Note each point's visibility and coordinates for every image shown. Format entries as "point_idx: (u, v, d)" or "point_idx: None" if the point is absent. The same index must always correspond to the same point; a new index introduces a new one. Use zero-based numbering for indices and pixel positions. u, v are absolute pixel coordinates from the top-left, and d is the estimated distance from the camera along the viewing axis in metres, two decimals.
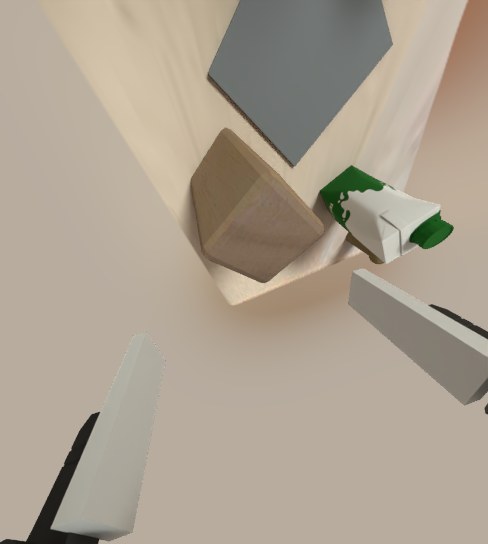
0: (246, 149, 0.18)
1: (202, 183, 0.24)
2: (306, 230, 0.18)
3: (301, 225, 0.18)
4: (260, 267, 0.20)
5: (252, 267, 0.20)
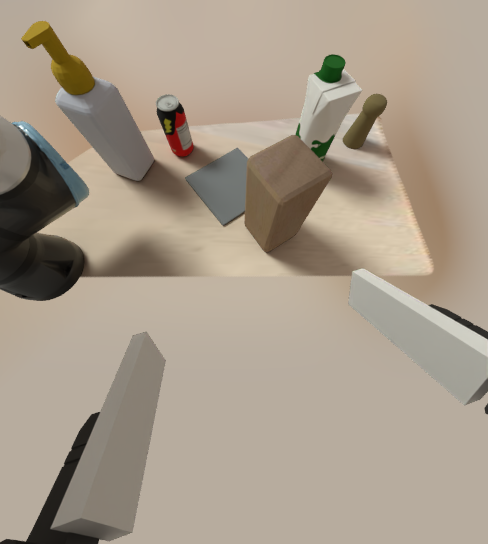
0: None
1: (261, 230, 0.38)
2: (287, 143, 0.28)
3: (282, 146, 0.28)
4: (309, 171, 0.27)
5: (306, 176, 0.27)
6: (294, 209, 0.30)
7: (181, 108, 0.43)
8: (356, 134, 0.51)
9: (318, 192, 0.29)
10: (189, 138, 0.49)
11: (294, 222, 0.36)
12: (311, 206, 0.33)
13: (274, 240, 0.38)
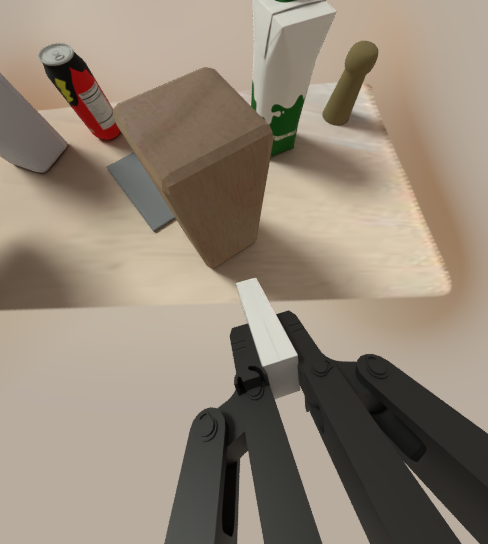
0: None
1: (189, 238, 0.25)
2: (190, 79, 0.15)
3: (180, 84, 0.15)
4: (225, 127, 0.14)
5: (219, 136, 0.13)
6: (212, 203, 0.16)
7: (80, 63, 0.29)
8: (339, 103, 0.38)
9: (253, 170, 0.16)
10: (109, 112, 0.35)
11: (235, 225, 0.22)
12: (256, 198, 0.20)
13: (211, 253, 0.25)
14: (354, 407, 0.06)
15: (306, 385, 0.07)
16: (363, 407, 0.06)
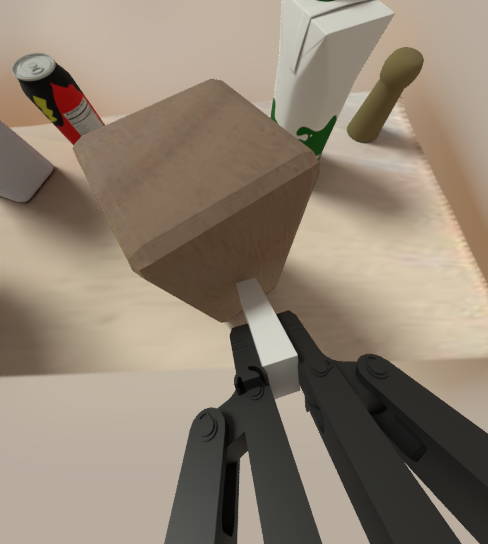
0: None
1: None
2: (187, 95, 0.10)
3: (172, 102, 0.10)
4: (240, 159, 0.08)
5: (230, 175, 0.08)
6: (221, 271, 0.10)
7: (64, 77, 0.24)
8: (369, 119, 0.32)
9: (284, 219, 0.10)
10: None
11: None
12: (283, 249, 0.14)
13: (221, 314, 0.19)
14: (354, 407, 0.06)
15: (306, 385, 0.07)
16: (363, 407, 0.06)
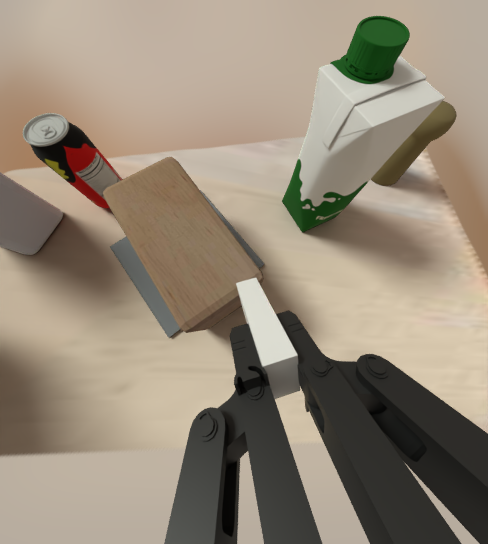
0: None
1: None
2: None
3: None
4: None
5: None
6: (135, 198, 0.21)
7: (78, 138, 0.23)
8: (393, 165, 0.31)
9: (165, 173, 0.22)
10: (113, 182, 0.29)
11: (178, 226, 0.20)
12: (188, 195, 0.21)
13: (159, 272, 0.18)
14: (354, 407, 0.06)
15: (306, 385, 0.07)
16: (363, 407, 0.06)
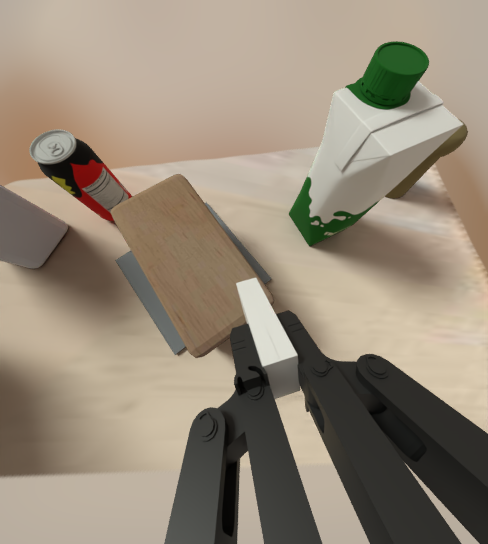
0: None
1: None
2: None
3: None
4: None
5: None
6: (143, 217, 0.20)
7: (85, 154, 0.23)
8: None
9: (173, 191, 0.21)
10: (119, 196, 0.29)
11: (187, 247, 0.20)
12: (197, 214, 0.21)
13: (168, 295, 0.18)
14: (354, 407, 0.06)
15: (306, 385, 0.07)
16: (363, 407, 0.06)
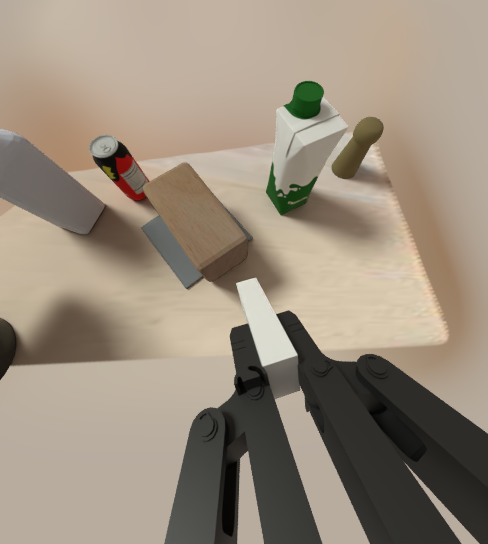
0: None
1: None
2: None
3: None
4: None
5: None
6: (164, 190, 0.32)
7: (123, 151, 0.34)
8: (347, 163, 0.42)
9: (182, 173, 0.33)
10: (142, 180, 0.40)
11: (193, 208, 0.31)
12: (198, 187, 0.32)
13: (182, 235, 0.30)
14: (354, 407, 0.06)
15: (306, 385, 0.07)
16: (363, 407, 0.06)
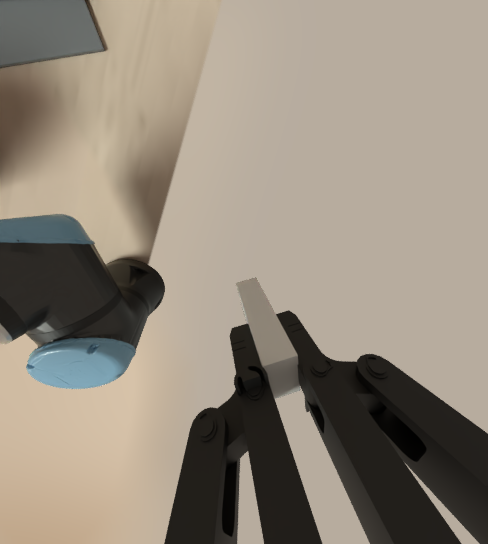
0: None
1: None
2: None
3: None
4: None
5: None
6: None
7: None
8: None
9: None
10: None
11: None
12: None
13: None
14: (354, 407, 0.06)
15: (306, 385, 0.07)
16: (363, 407, 0.06)
